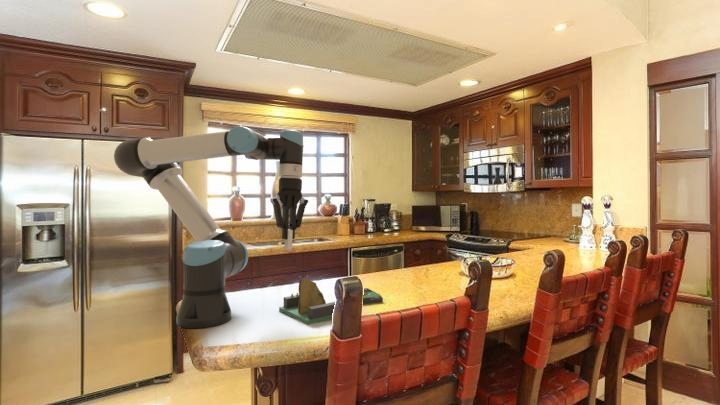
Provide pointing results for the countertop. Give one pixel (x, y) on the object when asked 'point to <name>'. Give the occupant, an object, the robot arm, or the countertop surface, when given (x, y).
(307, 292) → the rock
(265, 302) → the countertop surface
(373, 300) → the disk drive
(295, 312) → the socket board
